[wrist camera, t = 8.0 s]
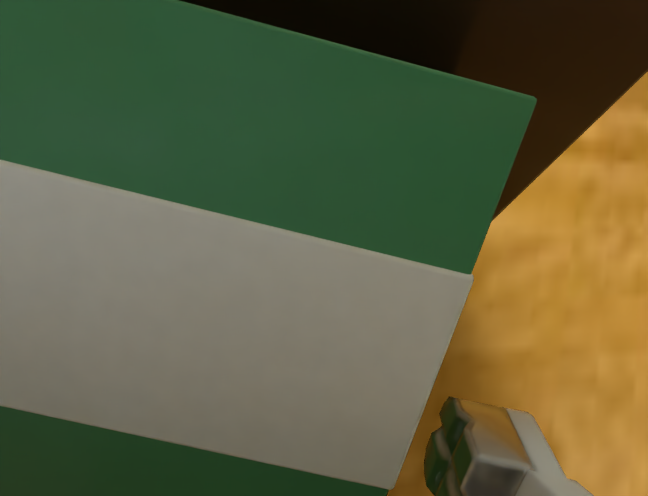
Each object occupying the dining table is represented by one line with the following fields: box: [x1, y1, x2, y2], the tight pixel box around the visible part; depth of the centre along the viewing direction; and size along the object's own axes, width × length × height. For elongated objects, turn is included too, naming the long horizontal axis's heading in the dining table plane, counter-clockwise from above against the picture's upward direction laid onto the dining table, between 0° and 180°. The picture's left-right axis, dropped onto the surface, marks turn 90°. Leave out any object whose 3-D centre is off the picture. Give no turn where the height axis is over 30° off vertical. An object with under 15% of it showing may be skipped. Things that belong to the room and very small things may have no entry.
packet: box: [0, 0, 537, 496], centre depth 10 cm, size 14×6×14 cm, turn 169°
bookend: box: [180, 0, 648, 220], centre depth 13 cm, size 3×12×14 cm, turn 79°
